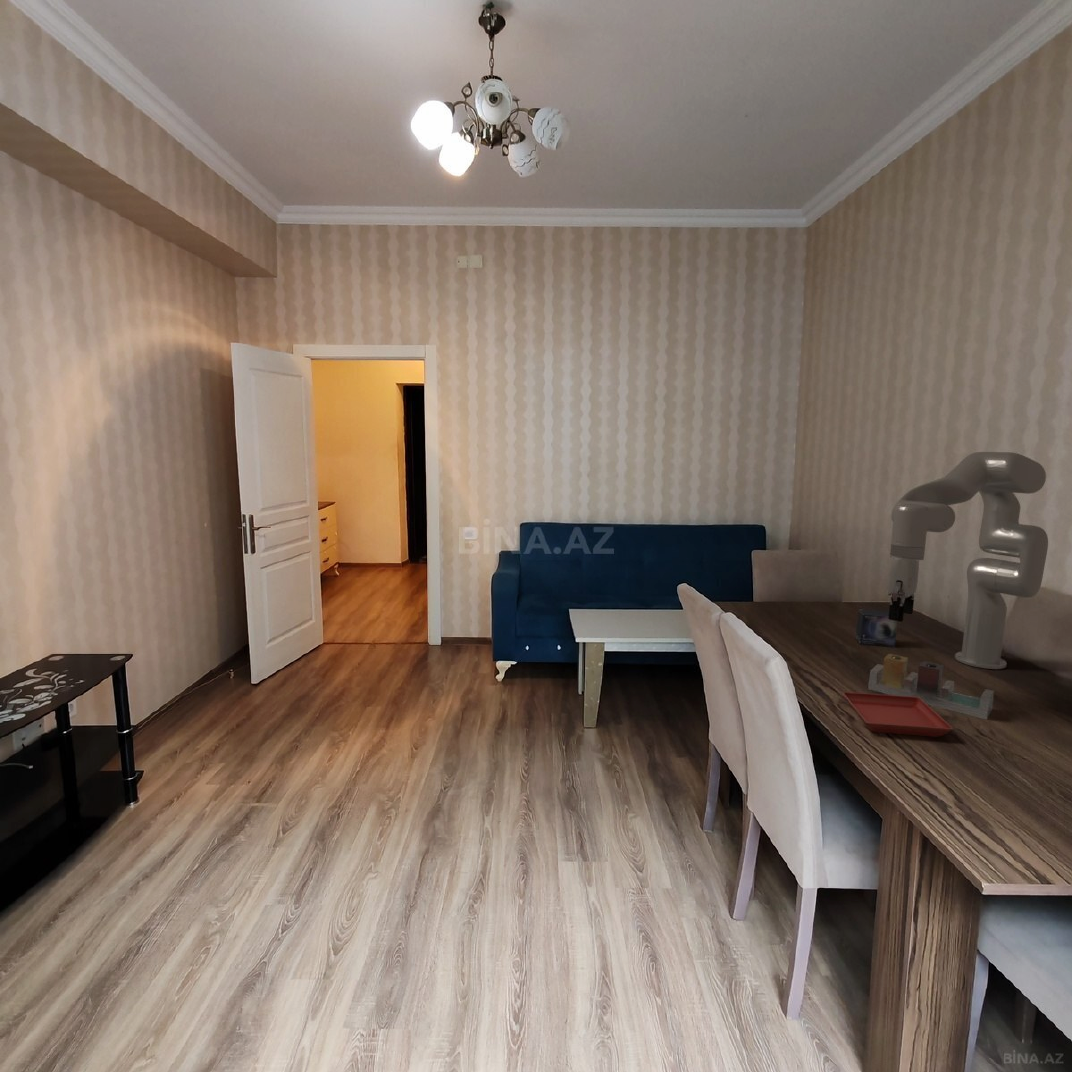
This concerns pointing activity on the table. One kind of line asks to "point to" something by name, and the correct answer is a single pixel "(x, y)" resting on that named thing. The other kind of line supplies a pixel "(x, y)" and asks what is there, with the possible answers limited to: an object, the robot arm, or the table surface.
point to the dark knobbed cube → (929, 678)
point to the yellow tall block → (894, 670)
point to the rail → (943, 700)
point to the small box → (875, 628)
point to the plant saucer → (897, 714)
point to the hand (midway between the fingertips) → (900, 616)
